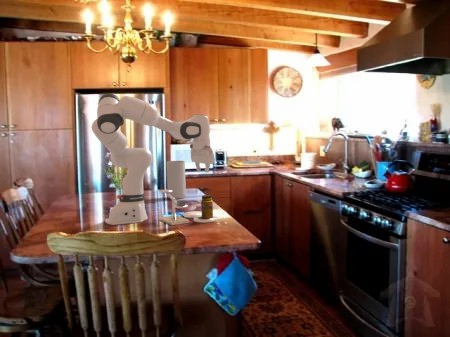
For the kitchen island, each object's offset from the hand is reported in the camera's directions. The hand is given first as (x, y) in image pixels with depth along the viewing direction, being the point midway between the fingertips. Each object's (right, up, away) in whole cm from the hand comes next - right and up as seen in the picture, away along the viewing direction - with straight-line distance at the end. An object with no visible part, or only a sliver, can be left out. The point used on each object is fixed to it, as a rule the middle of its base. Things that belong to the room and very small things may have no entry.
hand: (202, 171), depth 244 cm
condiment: (+2, -25, +1) cm, 25 cm away
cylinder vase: (-21, -19, +76) cm, 81 cm away
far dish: (-6, -25, +14) cm, 29 cm away
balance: (-15, -26, 0) cm, 30 cm away
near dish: (+2, -26, +1) cm, 26 cm away
